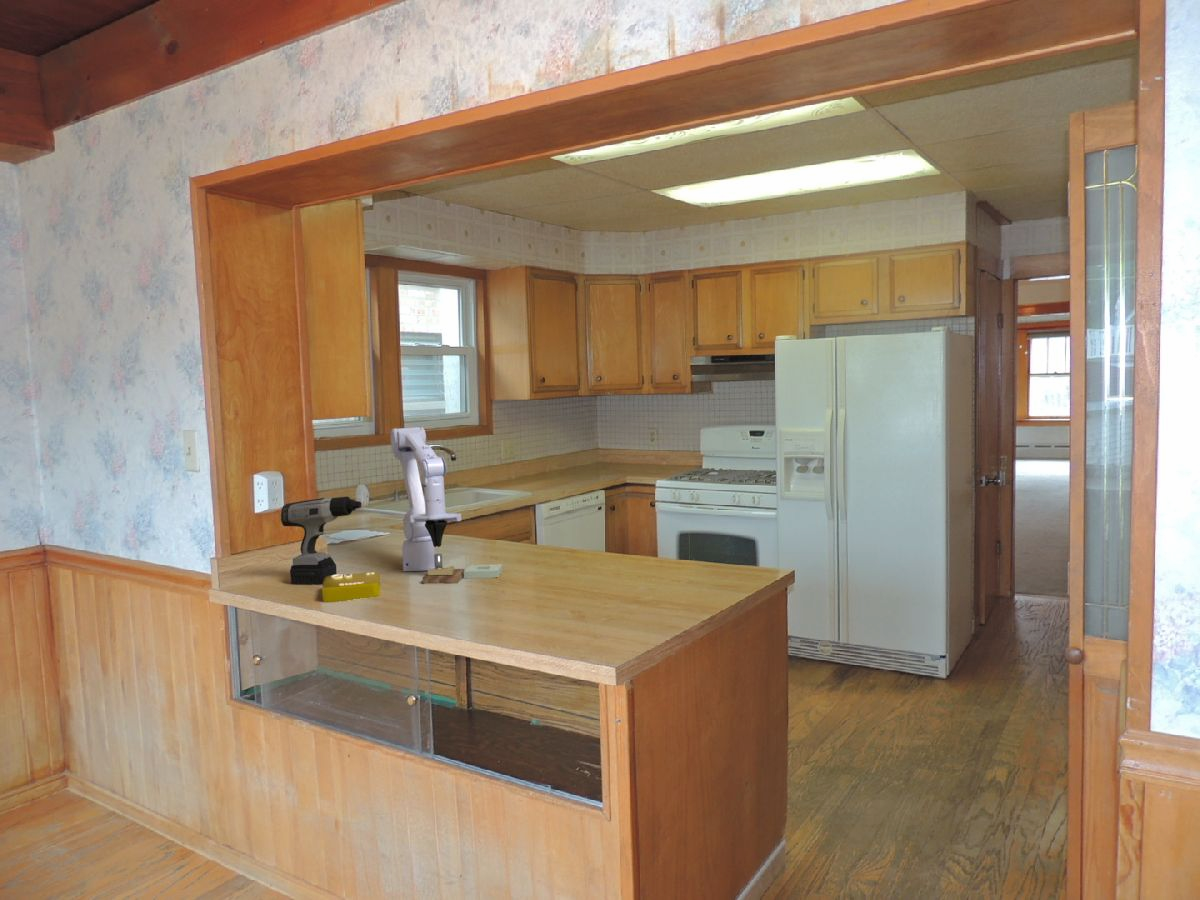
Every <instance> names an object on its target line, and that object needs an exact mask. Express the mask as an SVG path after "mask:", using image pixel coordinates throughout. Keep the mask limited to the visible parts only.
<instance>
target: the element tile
mask: <svg viewBox="0 0 1200 900" xmlns="http://www.w3.org/2000/svg"><path fill="white" fill-rule="evenodd" d="M381 582H382V581H381V573H380V572H378V571H368V572H367V571H366V572H356V573H355V572H354V573H349V574H347V573H345V574H342V573H339V574H338V573H337V574H336V575H332V576H327V577H326V578H324V582H323V585H321V586H322V587H321V591H322V594H321V595H322V602H323V603H331V604H332V603H340V602H339V601H341V602H348V601H347V600H351V601H354V600H353V599H360V598H370V597H377V596H380V595H381V596H382V587H381ZM381 596H380V597H381ZM377 598H378V597H377Z"/></svg>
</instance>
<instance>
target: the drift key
mask: <svg viewBox="0 0 1200 900" xmlns="http://www.w3.org/2000/svg"><path fill="white" fill-rule="evenodd" d="M454 569H455V566H454V565H451V566H450V565H449V566H448V567H443V568H429V569H428V571H427V573H428V575H453V574H454Z"/></svg>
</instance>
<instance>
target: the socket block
mask: <svg viewBox="0 0 1200 900" xmlns="http://www.w3.org/2000/svg"><path fill="white" fill-rule="evenodd" d="M465 570H466V568H454V574H453V575H428V572H426V574H423V576H422V583H444V584H459V583H460V582H461V581H462V579H463V578H464V571H465ZM459 581H460V582H459ZM458 582H459V583H458Z"/></svg>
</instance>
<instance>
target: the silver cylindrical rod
mask: <svg viewBox="0 0 1200 900" xmlns="http://www.w3.org/2000/svg"><path fill="white" fill-rule="evenodd" d="M434 563H435V568H444V567H443V554H442V553H435V554H434Z"/></svg>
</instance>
